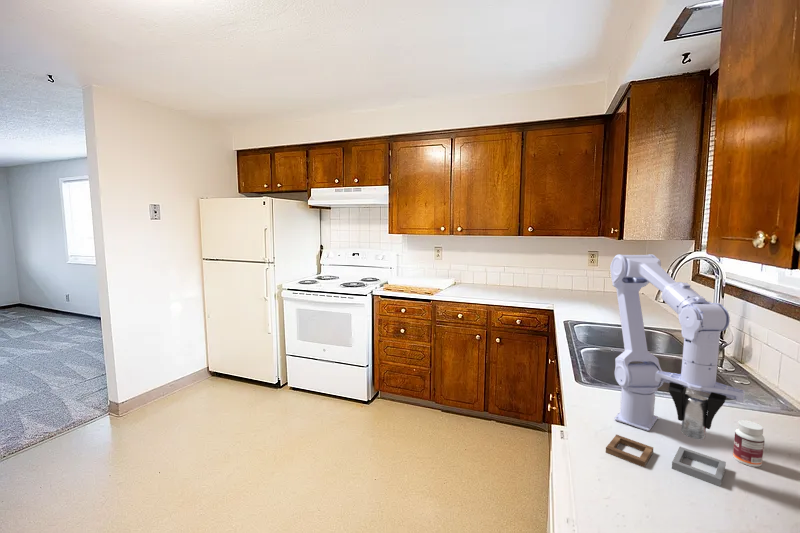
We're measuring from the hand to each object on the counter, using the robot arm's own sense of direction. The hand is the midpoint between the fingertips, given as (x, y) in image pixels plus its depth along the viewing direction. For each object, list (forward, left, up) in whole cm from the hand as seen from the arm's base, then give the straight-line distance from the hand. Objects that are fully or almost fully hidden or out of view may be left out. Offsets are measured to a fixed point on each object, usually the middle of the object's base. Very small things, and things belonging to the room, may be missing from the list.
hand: (694, 422), depth 80 cm
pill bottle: (-12, +8, -10) cm, 17 cm away
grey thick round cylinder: (0, 0, -2) cm, 2 cm away
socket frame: (+3, -11, -10) cm, 15 cm away
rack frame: (-1, +1, -10) cm, 10 cm away
